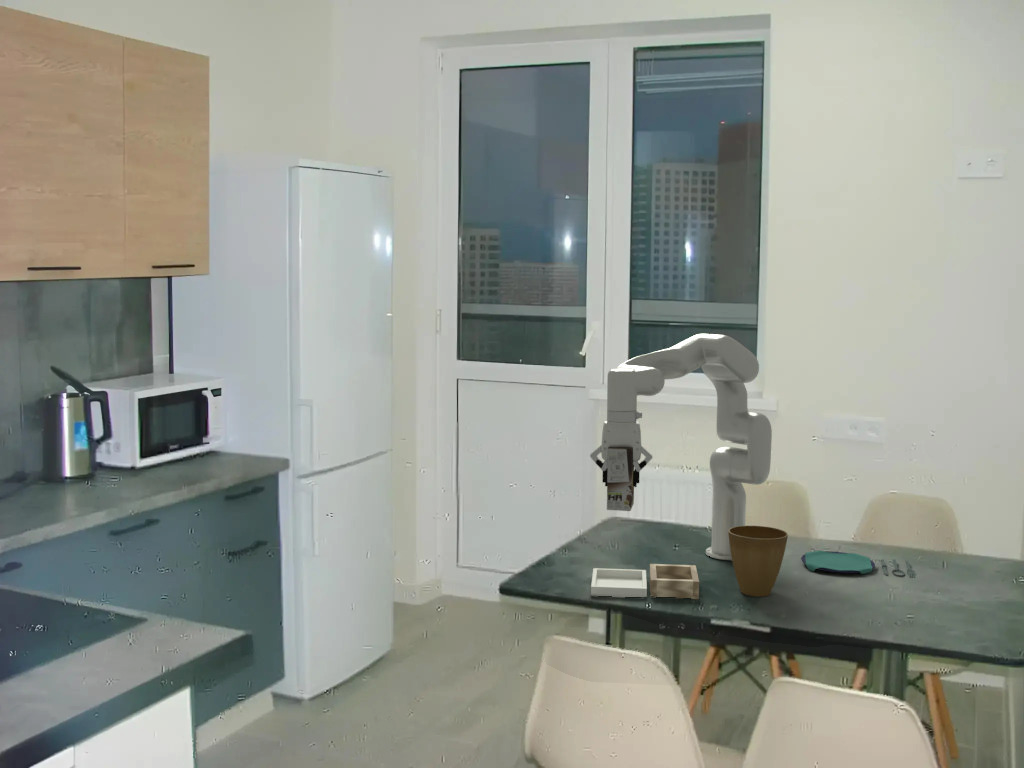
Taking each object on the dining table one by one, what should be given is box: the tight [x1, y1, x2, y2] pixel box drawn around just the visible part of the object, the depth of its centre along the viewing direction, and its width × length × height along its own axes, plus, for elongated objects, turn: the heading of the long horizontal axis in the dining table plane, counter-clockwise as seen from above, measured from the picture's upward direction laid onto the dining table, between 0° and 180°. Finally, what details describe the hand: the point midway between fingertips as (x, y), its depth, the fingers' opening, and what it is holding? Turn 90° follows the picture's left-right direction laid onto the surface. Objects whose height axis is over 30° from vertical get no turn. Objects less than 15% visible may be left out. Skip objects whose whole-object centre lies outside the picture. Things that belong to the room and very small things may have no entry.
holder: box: [649, 563, 700, 600], centre depth 277 cm, size 12×15×4 cm
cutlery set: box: [800, 550, 916, 579], centre depth 298 cm, size 20×30×2 cm, turn 75°
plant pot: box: [728, 525, 789, 598], centre depth 274 cm, size 15×15×16 cm
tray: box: [590, 567, 648, 598], centre depth 278 cm, size 14×17×2 cm
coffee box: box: [606, 447, 635, 512], centre depth 275 cm, size 9×6×16 cm
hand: (620, 485), depth 276 cm, fingers closed on coffee box, 6 cm apart
